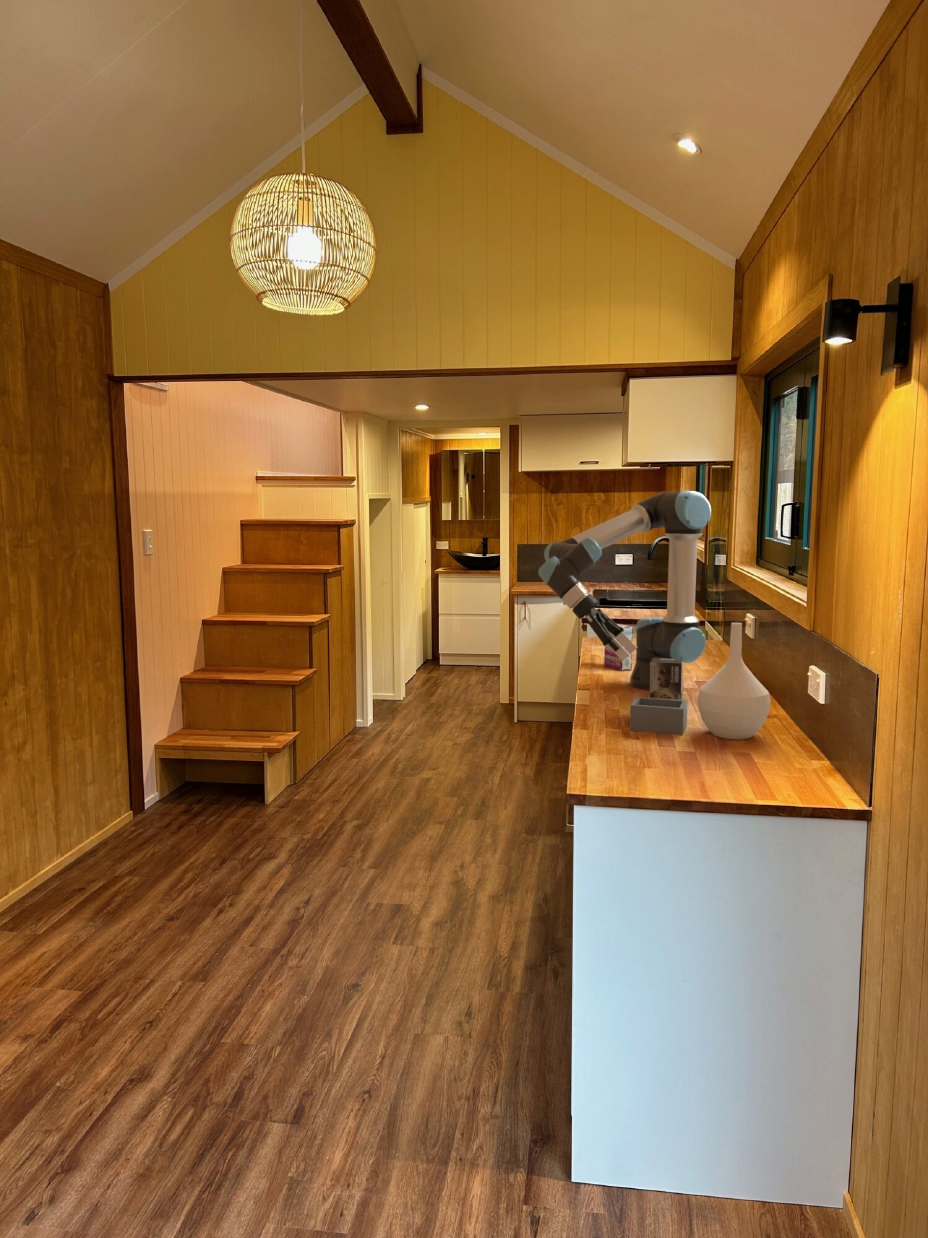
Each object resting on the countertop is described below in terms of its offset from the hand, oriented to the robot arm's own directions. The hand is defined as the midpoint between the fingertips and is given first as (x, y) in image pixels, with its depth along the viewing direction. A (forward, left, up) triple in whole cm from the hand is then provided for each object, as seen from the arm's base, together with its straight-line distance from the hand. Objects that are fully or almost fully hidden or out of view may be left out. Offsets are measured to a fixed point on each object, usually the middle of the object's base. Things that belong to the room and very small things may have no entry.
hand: (630, 654), depth 250 cm
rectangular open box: (+16, +11, -17) cm, 26 cm away
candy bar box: (-67, -15, -17) cm, 71 cm away
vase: (+17, +30, -17) cm, 38 cm away
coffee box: (0, +11, -17) cm, 20 cm away
